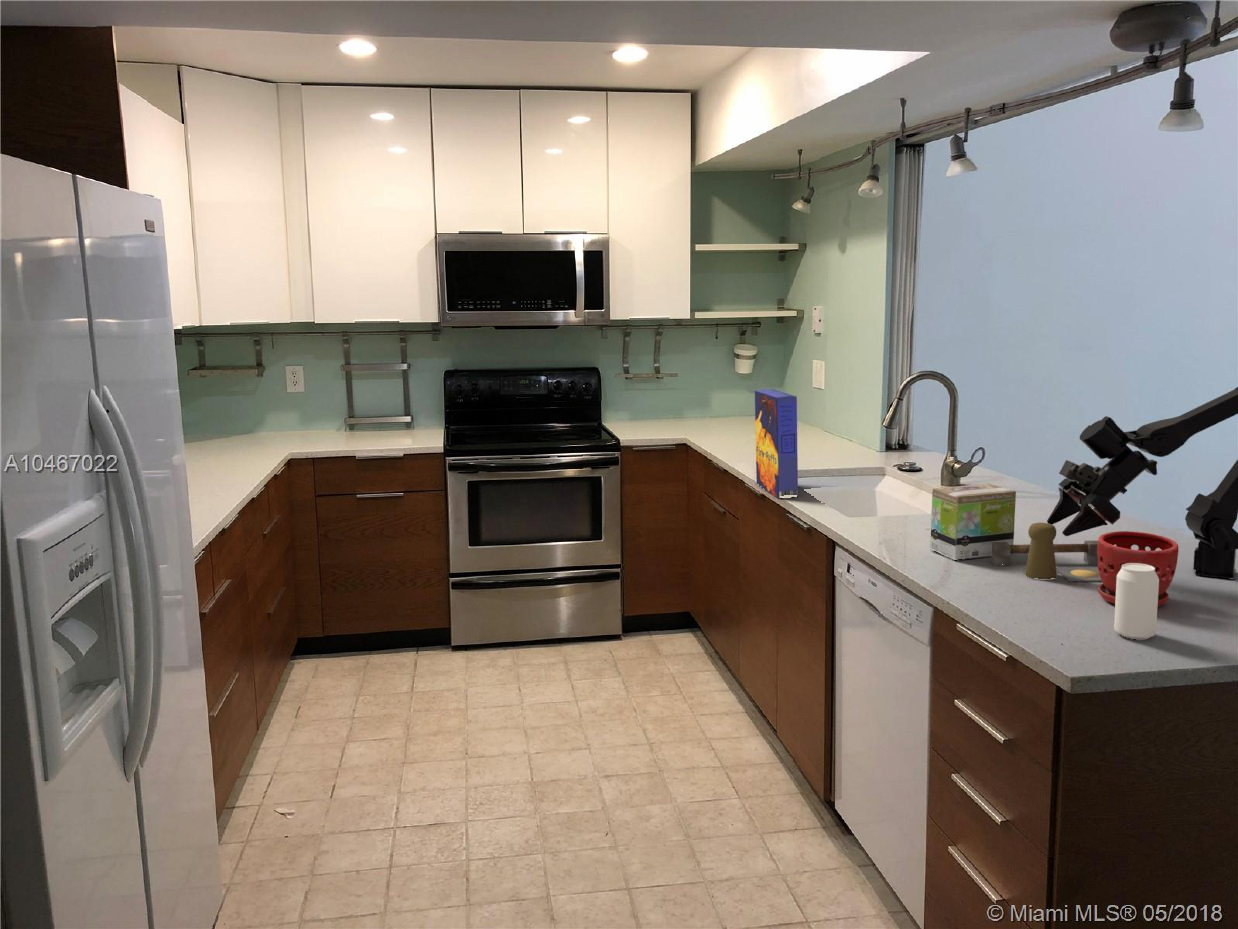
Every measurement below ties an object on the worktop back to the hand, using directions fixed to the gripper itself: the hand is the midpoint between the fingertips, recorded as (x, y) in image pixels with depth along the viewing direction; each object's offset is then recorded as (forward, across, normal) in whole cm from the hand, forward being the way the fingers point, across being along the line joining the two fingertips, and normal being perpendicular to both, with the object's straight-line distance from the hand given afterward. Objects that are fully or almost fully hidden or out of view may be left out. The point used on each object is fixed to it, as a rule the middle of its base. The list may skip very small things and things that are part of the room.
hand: (1056, 528), depth 191 cm
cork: (+9, 0, +5) cm, 10 cm away
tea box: (+16, -18, -1) cm, 24 cm away
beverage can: (+6, +34, +8) cm, 36 cm away
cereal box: (+44, -88, -29) cm, 103 cm away
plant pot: (+1, +17, +13) cm, 21 cm away
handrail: (+6, -9, +8) cm, 13 cm away
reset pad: (+3, 0, +11) cm, 11 cm away
